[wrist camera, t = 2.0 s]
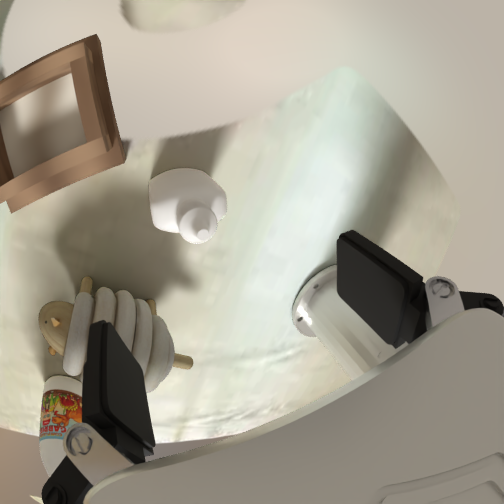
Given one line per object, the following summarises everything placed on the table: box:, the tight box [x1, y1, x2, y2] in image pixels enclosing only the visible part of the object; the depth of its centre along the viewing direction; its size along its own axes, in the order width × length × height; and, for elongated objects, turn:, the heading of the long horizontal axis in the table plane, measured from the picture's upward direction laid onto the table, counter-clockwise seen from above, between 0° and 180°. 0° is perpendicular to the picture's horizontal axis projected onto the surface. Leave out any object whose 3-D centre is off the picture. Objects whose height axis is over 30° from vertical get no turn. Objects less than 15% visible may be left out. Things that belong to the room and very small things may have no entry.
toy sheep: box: [39, 277, 193, 393], centre depth 24 cm, size 11×17×11 cm, turn 60°
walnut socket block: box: [0, 34, 126, 214], centre depth 16 cm, size 12×12×6 cm
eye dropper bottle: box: [148, 168, 227, 244], centre depth 21 cm, size 4×6×12 cm
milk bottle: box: [39, 376, 82, 478], centre depth 23 cm, size 8×8×20 cm
